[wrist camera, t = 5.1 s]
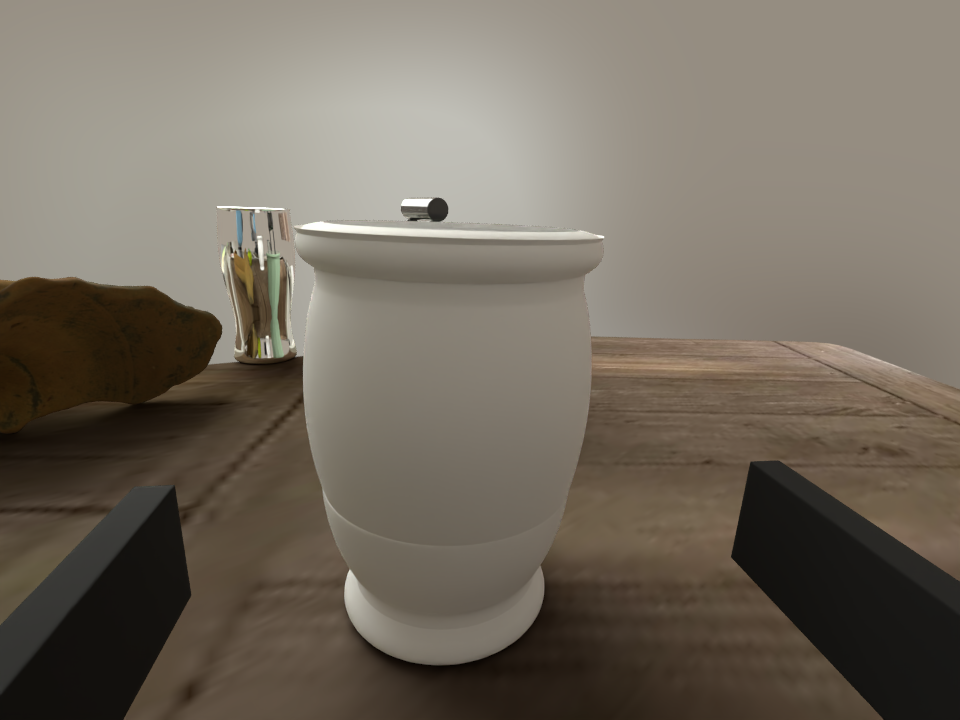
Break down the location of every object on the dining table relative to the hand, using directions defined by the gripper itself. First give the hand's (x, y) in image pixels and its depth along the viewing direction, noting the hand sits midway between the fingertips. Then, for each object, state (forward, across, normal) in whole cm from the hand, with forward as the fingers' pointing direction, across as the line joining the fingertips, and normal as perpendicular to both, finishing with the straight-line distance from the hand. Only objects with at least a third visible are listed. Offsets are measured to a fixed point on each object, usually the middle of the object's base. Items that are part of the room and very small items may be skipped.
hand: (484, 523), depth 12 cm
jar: (+8, 0, -9) cm, 12 cm away
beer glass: (+44, -16, -9) cm, 48 cm away
